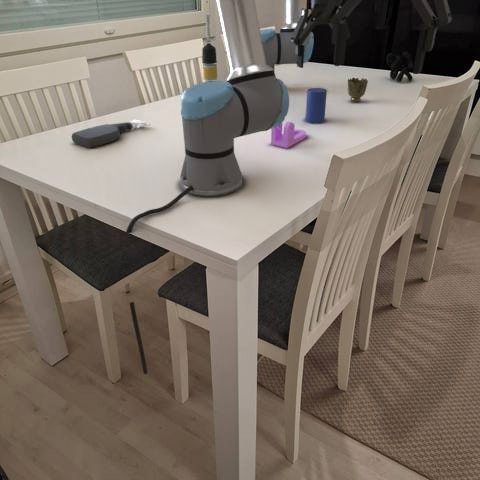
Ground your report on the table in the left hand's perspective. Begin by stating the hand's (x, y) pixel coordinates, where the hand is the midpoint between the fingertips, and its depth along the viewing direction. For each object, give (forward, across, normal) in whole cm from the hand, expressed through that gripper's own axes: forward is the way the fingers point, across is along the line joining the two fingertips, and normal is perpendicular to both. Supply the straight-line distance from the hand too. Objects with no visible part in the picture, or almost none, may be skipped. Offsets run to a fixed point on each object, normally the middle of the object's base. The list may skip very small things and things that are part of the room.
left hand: (376, 68), depth 76 cm
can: (+31, +37, -60) cm, 77 cm away
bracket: (+31, +35, -38) cm, 60 cm away
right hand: (+13, +38, -60) cm, 72 cm away
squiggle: (+31, +30, -133) cm, 140 cm away
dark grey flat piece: (+31, +86, -13) cm, 92 cm away
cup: (+31, +34, -90) cm, 101 cm away
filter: (+31, +85, -65) cm, 112 cm away
